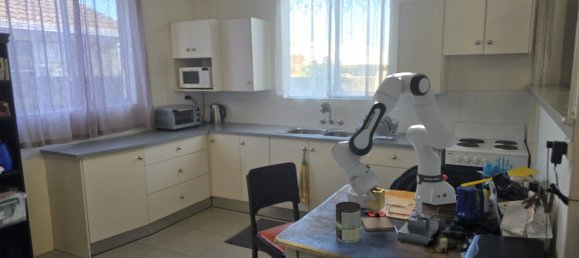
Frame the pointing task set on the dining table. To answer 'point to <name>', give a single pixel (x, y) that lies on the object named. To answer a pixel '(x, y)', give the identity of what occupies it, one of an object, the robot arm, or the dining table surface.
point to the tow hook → (376, 214)
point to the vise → (418, 226)
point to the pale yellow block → (380, 200)
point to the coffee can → (348, 222)
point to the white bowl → (358, 198)
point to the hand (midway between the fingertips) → (378, 197)
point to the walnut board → (377, 224)
